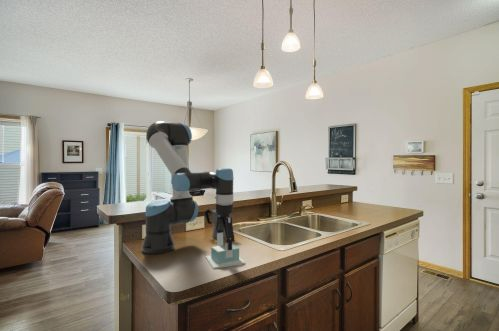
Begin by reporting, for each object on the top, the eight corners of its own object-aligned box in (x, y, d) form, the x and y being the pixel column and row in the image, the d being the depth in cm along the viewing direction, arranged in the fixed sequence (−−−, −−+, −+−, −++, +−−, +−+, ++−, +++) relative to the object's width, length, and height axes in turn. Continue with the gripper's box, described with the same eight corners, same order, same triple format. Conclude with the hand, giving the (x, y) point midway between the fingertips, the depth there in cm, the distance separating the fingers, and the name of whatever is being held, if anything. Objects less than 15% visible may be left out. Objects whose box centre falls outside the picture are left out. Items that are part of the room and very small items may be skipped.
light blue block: (231, 254, 123) (231, 243, 123) (239, 259, 116) (239, 247, 116) (211, 258, 118) (211, 246, 118) (218, 264, 111) (218, 251, 111)
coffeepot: (232, 234, 156) (232, 204, 156) (229, 239, 147) (229, 207, 147) (207, 233, 158) (207, 203, 158) (202, 238, 149) (202, 206, 149)
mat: (205, 257, 121) (205, 256, 121) (234, 253, 126) (234, 251, 126) (213, 269, 108) (213, 267, 108) (245, 263, 113) (245, 262, 113)
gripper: (209, 199, 126) (209, 244, 127) (224, 209, 103) (224, 263, 104) (224, 199, 129) (224, 242, 130) (242, 208, 106) (242, 260, 107)
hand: (224, 251), depth 117 cm, fingers open, 13 cm apart
